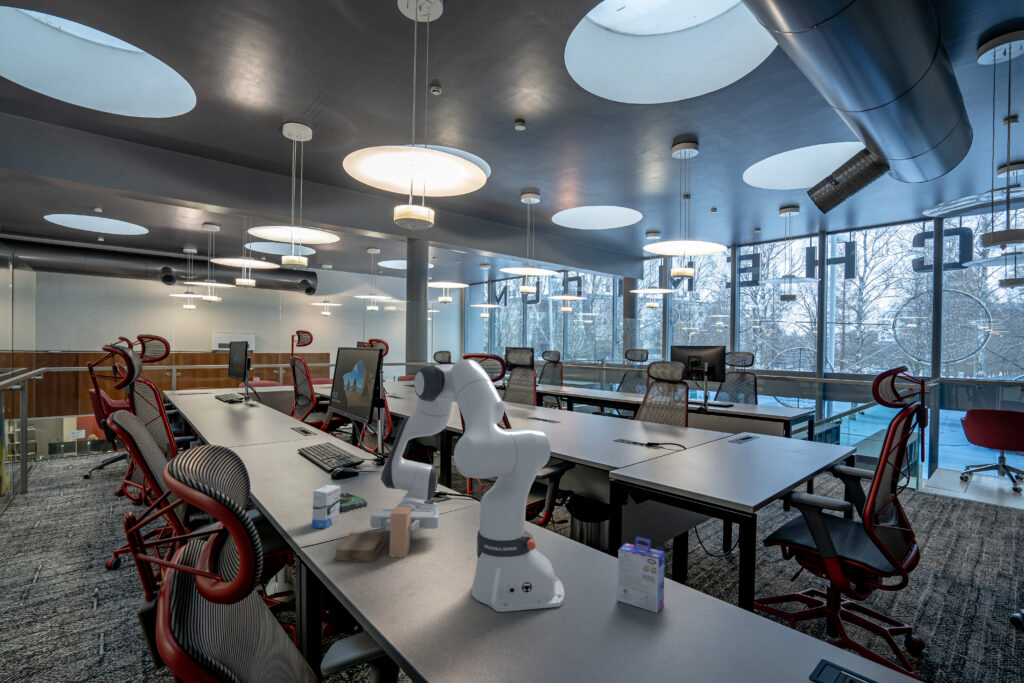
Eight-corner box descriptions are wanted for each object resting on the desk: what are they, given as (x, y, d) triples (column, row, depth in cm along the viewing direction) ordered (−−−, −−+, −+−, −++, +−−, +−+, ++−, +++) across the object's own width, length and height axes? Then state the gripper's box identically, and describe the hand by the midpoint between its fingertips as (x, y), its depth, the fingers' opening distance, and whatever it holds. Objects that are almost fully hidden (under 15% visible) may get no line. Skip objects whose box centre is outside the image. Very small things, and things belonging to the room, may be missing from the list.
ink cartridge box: (665, 603, 110) (666, 541, 110) (658, 614, 105) (659, 549, 105) (624, 591, 115) (625, 531, 115) (616, 601, 110) (617, 539, 111)
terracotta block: (409, 548, 137) (411, 507, 137) (405, 557, 131) (406, 513, 131) (394, 548, 137) (395, 506, 137) (389, 556, 131) (390, 513, 131)
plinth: (384, 543, 140) (384, 533, 140) (372, 561, 128) (373, 550, 128) (350, 543, 140) (350, 532, 140) (336, 560, 128) (336, 549, 128)
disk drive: (320, 505, 175) (342, 514, 165) (320, 498, 175) (342, 506, 165) (345, 499, 183) (368, 507, 173) (345, 492, 183) (368, 499, 174)
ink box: (324, 529, 150) (326, 492, 150) (311, 528, 151) (312, 491, 151) (339, 520, 158) (341, 485, 159) (326, 519, 159) (327, 484, 160)
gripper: (377, 501, 147) (363, 516, 134) (442, 502, 148) (435, 517, 134) (376, 521, 147) (363, 539, 133) (441, 522, 147) (435, 540, 134)
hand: (400, 528), depth 134 cm, fingers closed on terracotta block, 4 cm apart
